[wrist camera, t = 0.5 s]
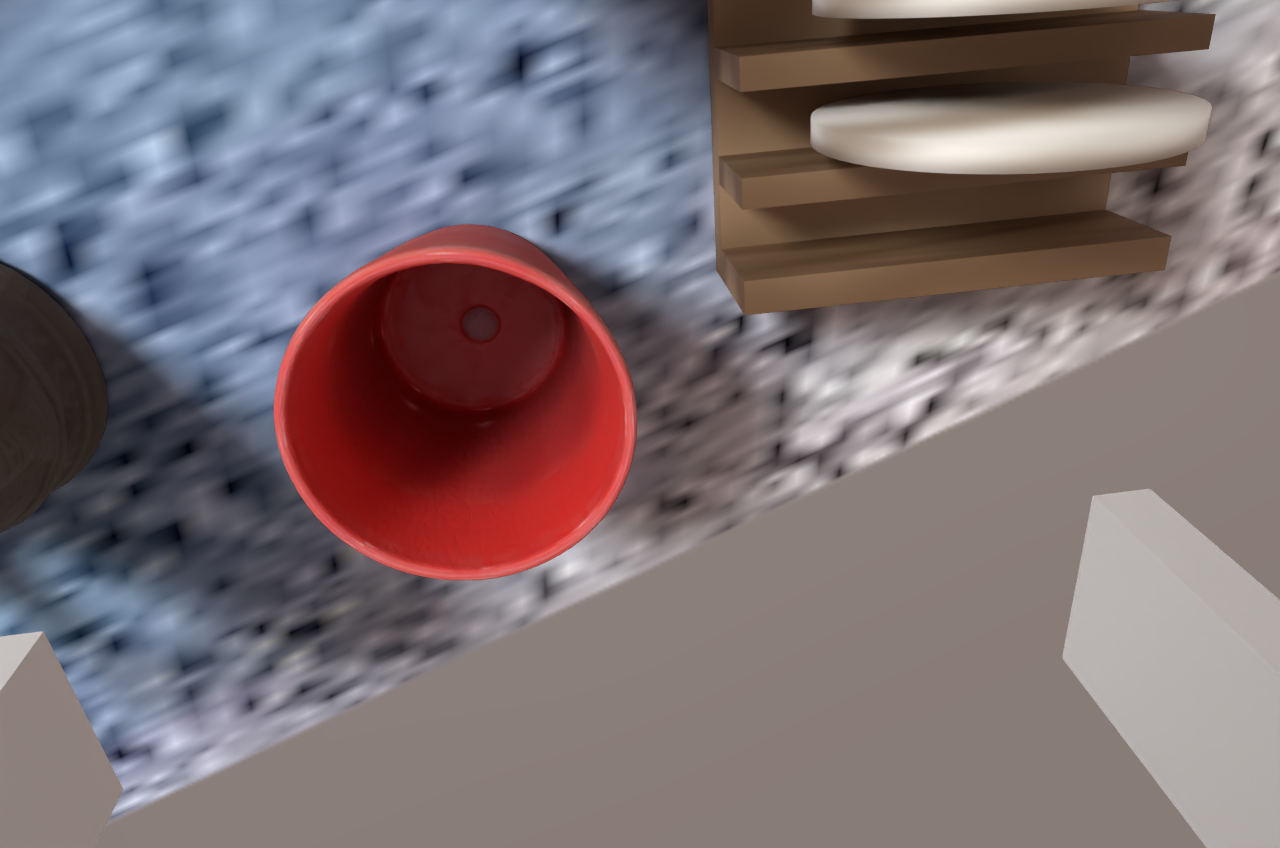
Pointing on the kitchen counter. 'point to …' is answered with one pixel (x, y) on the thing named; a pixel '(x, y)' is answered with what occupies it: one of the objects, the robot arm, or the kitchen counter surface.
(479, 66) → the kitchen counter surface
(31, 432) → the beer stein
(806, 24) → the dish rack
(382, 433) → the flower pot
